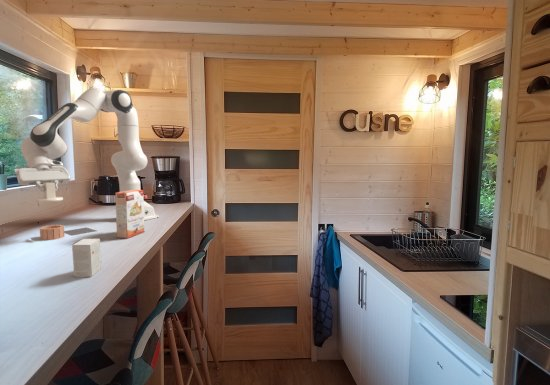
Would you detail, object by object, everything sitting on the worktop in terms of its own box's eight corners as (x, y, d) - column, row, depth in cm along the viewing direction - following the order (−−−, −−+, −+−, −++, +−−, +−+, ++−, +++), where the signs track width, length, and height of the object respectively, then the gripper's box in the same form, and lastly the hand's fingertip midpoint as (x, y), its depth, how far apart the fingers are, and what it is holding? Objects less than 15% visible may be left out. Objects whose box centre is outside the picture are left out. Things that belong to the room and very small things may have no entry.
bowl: (59, 235, 166) (58, 224, 166) (67, 238, 161) (67, 226, 160) (37, 238, 159) (36, 227, 159) (45, 242, 154) (44, 230, 153)
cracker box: (128, 238, 161) (126, 192, 158) (116, 238, 162) (114, 192, 159) (145, 231, 174) (143, 189, 172) (134, 231, 176) (132, 189, 173)
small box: (84, 269, 120) (82, 238, 119) (101, 268, 121) (100, 238, 120) (73, 277, 112) (71, 244, 111) (91, 277, 113) (90, 244, 112)
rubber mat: (86, 228, 181) (86, 227, 181) (97, 231, 174) (97, 230, 174) (60, 232, 171) (60, 231, 171) (71, 236, 164) (71, 235, 164)
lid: (57, 198, 165) (56, 181, 164) (66, 200, 159) (66, 182, 158) (32, 200, 157) (31, 182, 156) (41, 203, 151) (40, 184, 150)
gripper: (14, 162, 152) (24, 186, 147) (65, 162, 168) (76, 184, 164) (11, 172, 156) (20, 196, 151) (62, 171, 172) (72, 192, 167)
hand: (50, 190), depth 157 cm, fingers closed on lid, 3 cm apart
